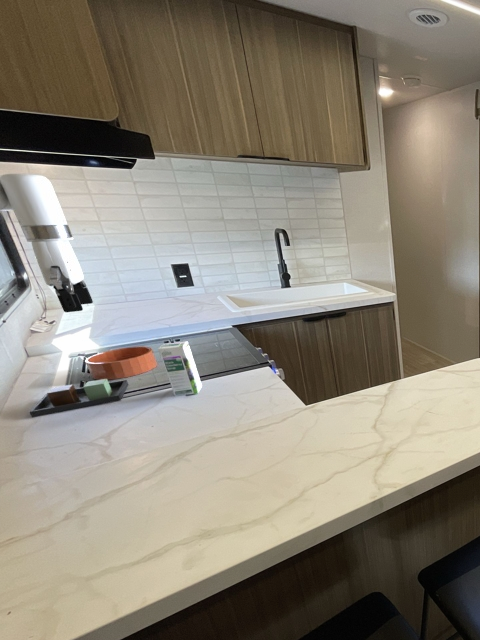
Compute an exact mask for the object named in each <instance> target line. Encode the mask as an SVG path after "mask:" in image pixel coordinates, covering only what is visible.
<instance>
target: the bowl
mask: <svg viewBox="0 0 480 640" xmlns="http://www.w3.org/2000/svg"><path fill="white" fill-rule="evenodd" d="M84 362H85V365H86V367H87V369H88V371H89V373H90V376H91V378H92V379H93V380H102V379H107V380H108V381H111V380H112V381H113V380H120V379H126V378H129V377H130V378H131V377H134V376H138V375H141V374H144V373H147V372H149V371H152V370H154V369H155V368H157V367H158V362H157V358H156V356H155V353H154V350H153V348H152V347H149V346H129V347H121V348H115V349H110V350H106V351H103V352H100V353H96V354H94V355H91V356H89V357H86V359H85V360H84Z"/></svg>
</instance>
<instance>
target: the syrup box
mask: <svg viewBox="0 0 480 640" xmlns="http://www.w3.org/2000/svg"><path fill="white" fill-rule="evenodd" d="M158 353H159V356H160V358H161V361H162V364H163V366H164V369H165V372H166V376H167V378H168V380H169V383H170V387H171V389H172V393H173V396H174V397H177V396H184V395H186V396H190V395H198V394H199V393H200V391H201V389H202V387H203V383H202V381H201V378H200V375H199V372H198V369H197V365H196V363H195V360H194V357H193V353H192V350H191V347H190V344H189V341H188V340H186V341H178V342H169V343H168V342H167V343H163V344H161V345H160V346H159V347H158Z"/></svg>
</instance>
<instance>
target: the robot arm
mask: <svg viewBox="0 0 480 640" xmlns="http://www.w3.org/2000/svg"><path fill="white" fill-rule="evenodd" d="M8 211H13V214H14V215H15V217H16V220H17V223H18V224H19V226H20V229H21V231H22V234H23V235H24V237H25V240H26V242H28V243H31V246H32V251H33V253H34V256H35V259H36V263H37V264H38V267H39V270H40V272H41V275H42V278H43V280H44V282H45V284H46V286H48V287H52V288H53V289H54V292H55V295H56V296H57V299H58V301H59V304H60V306H61V308H62V310H63V312H64V313H74V312H82V311H83V310H84V307H83V305H91V304H93V303H94V301H93V298H92V296H91V293H90V291H89V289H88V287H87V284H86V282H85V281H84V280H85V275H84V273H83V269H82V267H81V265H80V262H79V260H78V257H77V256H76V253H75V251H74V249H73V246H72V245H71V243H70V241H72V240H75V239H74V236H73V234H72V231H71V229H70V226H69V224H68V222H67V219H66V216H65V215H64V211H63V209H62V206H61V204H60V202H59V199H58V196H57V193H56V192H55V189H54V186H53V185H52V182H51V181H50V179H48V178H47V177H46V176H44V175H41V174H33V173H4V174H0V212H8Z"/></svg>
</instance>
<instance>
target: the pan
mask: <svg viewBox="0 0 480 640" xmlns="http://www.w3.org/2000/svg"><path fill="white" fill-rule="evenodd" d="M108 383H109V385H110V388H111V390H112V393H111V395H110V397H104V398H99V399H93V400H89V399H88V397H87V395H86V392H85V390H84V388H83V387H84V386H83V387H77V388H76V387H75V390H76V392H77V394H78V396H79V399H78V400H77V402H76V403H72V404H66V405H61V406H55V407H53V405H52V403H51V401H50V399H49V396H48V394H47V393H45V394H44V396H42V397H41V398H40V399H39V401H38V402H37V403H36V404H35V406H33V407H32V409H30V410H29V414H30V416H31V418H36V417H42V416H47V415H52V414H53V415H54V414H58V413H63V412H67V411H73V410H79V409H84V408H88V407H94V406H100V405H105V404H110V403H114V402H120V401H122V399H123V397H124V395H125V393H126V391H127V390H128V389H127V388H128V387H129V382H128V380H127V379H124V380H118V381H113V382H108Z"/></svg>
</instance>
